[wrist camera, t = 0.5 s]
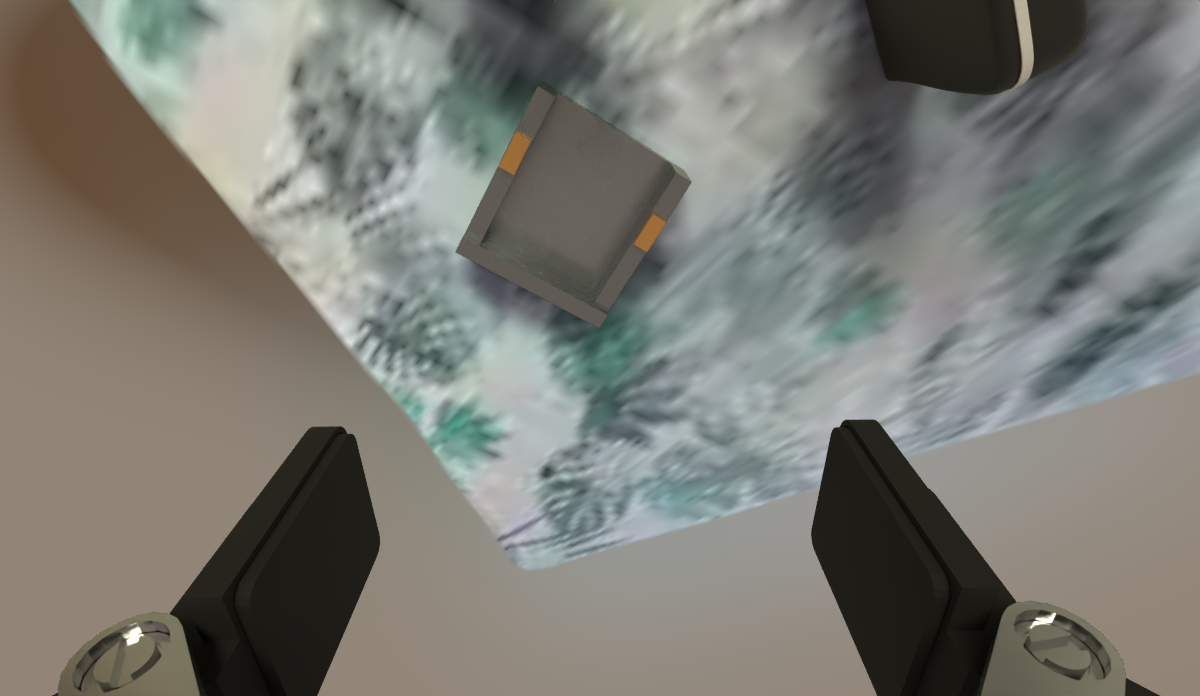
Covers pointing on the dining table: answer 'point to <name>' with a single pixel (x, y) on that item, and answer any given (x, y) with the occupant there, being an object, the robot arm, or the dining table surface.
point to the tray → (572, 207)
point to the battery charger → (975, 40)
